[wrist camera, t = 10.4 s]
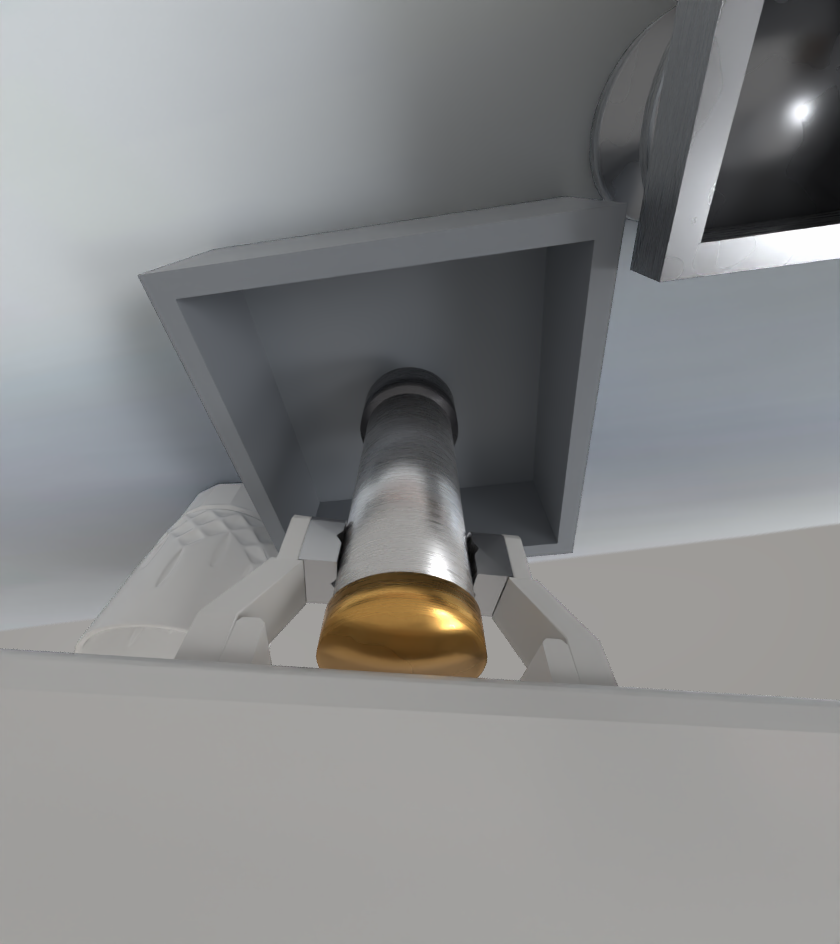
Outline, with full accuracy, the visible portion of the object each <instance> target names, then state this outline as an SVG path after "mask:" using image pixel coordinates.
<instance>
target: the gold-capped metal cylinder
mask: <svg viewBox="0 0 840 944" xmlns="http://www.w3.org/2000/svg"><path fill="white" fill-rule="evenodd" d="M360 433H361V438H362V441H363V449H362V454H361V459H360V464H359V469H358V474H357V479H356V484H355V489H354V494H353V499H352V504H351V508H350V513H349V518H348V523H347V529H346V534H345V539H344V544H343V548H342V553H341V559H340V564H339V569H338V574H337V578H336V582H335V587H334V592H333V597H332V598H331V599H330V601H329V603H328V605H327V607H326V611H325V615H324V619H323V624H322V629H321V634H320V639H319V643H318V648H317V654H316V659H317V663H318V666H319V668H324V669H340V670H357V671H373V672H389V673H406V674H422V675H438V676H455V677H471V678H478V677H479V675H480V674H481V673H482V672H483V670H484V668H485V666H486V663H487V652H486V645H485V638H484V631H483V624H482V617H481V611H480V608H479V606H478V604H477V602H476V601H475V597H474V590H473V582H472V575H471V568H470V561H469V553H468V546H467V539H466V531H465V524H464V517H463V509H462V502H461V495H460V488H459V480H458V473H457V466H456V458H455V451H454V446H455V444H456V441H457V438H458V421H457V415H456V409H455V403H454V398H453V395H452V393H451V391H450V389H449V387H448V386H447V384H446V383H445V382H444V381H443V380H442V379H441V378H440V377H438V376H437V375H435V374H434V373H432V372H430V371H428V370H424V369H421V368H416V367H403V368H398V369H394V370H391V371H389V372H387V373H385V374H384V375H382V376H381V377H380V378H378V379H377V380H376V381H375V383H374V384H373V385H372V386H371V388H370V390H369V392H368V394H367V397H366V401H365V406H364V410H363V414H362V418H361V424H360Z"/></svg>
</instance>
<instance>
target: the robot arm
mask: <svg viewBox="0 0 840 944" xmlns="http://www.w3.org/2000/svg"><path fill="white" fill-rule="evenodd" d="M346 529H347V521H346V520H339V519H330V518H322V517H313V516H312V517H310V516H302V515H294V516H293V517H292V518H291V521H290V524H289V526H288V529H287V532H286V535H285V537H284V540H283V543H282V545H281V548H280V551H279V553H278V556H277V558H274V557H271V558H270V559H269V560H267V561H266V562H265V563H263V564H262V565H261V566H259V567H258V568H256V569H255V570H254V571H252V572H251V573H250V574H248V575H247V576H246V577H244V578H243V579H242V580H240V581H239V582H238V583H236V584H235V585H234V586H232V587H231V588H229V589H228V590H227V591H225V592H224V593H223V594H221V595H220V596H219V597H217V598H216V599H215V600H213V601H212V602H211V603H209V604H208V605H207V606H205V607H204V608H202V609H201V610H200V611H198V613H197V615H196V617H195V619H194V621H193V623H192V625H191V627H190V629H189V630H188V632H187V634H186V636H185V638H184V640H183V642H182V644H181V646H180V648H179V650H178V652H177V654H176V656H175V658H174V659H162V658H146V657H130V656H114V655H98V654H82V653H64V652H50V651H33V650H17V649H16V650H15V649H0V944H840V700H830V699H814V698H798V697H797V698H796V697H781V696H765V695H747V694H731V693H716V692H715V693H714V692H698V691H683V690H667V689H651V688H650V689H649V688H634V687H618V685H617V683H616V680H615V677H614V675H613V672H612V669H611V667H610V665H609V662H608V659H607V657H606V654H605V652H604V649H603V647H602V645H601V642H600V640H598V638H597V637H596V636H594V635H593V634H592V633H591V632H590V631H589V630H588V629H587V628H586V627H585V626H584V625H583V624H582V623H581V622H580V621H579V620H578V619H577V618H576V617H575V616H574V615H573V614H572V613H571V612H570V611H569V610H568V609H567V608H566V607H565V606H564V605H563V604H562V603H561V602H560V601H559V600H558V599H557V598H556V597H555V596H554V595H552V594H551V592H549V591H548V590H547V589H546V588H545V587H544V586H543V585H542V584H541V583H540V582H539V581H538V580H534V579H533V578H532V575H531V572H530V568H529V565H528V562H527V558H526V555H525V552H524V548H523V545H522V541H521V538H520V537H519V536H515V535H503V534H502V535H501V534H491V533H479V532H469V533H468V535H467V538H466V539H467V546H468V553H469V561H470V568H471V575H472V582H473V590H474V597H475V601H476V602H477V604H478V606H479V608H480V611H481V616H491V617H492V619H493V620H494V622H495V623H496V625H497V626H498V628H499V629H500V630H501V632H502V633H503V634H504V636H505V638H506V639H507V640H508V642H509V643H510V645H511V646H512V647H513V649H514V650H515V652H516V653H517V655H518V656H519V657H520V659H521V660H522V662H523V663H524V665H525V666H526V667H527V669H526V671H525V672H524V674H523V676H522V677H521V679H520V680H504V679H487V678H471V677H455V676H438V675H422V674H406V673H389V672H373V671H357V670H340V669H324V668H307V667H292V666H276V665H275V666H274V665H272V664H271V657H270V651H269V644H270V643H271V642H272V640H273V639H274V638H275V637H276V636H277V635H278V634H279V633H280V632H281V631H282V630H283V629H284V627H285V626H286V625H287V624H288V623H289V622H290V621H291V620H292V619H293V618H294V617H295V616H296V615H297V614H298V612H299V611H300V610H301V609H302V608H303V607H304V606H305V605H306V603H323V604H328V603H329V601H330V599H331V598H332V597H333V592H334V587H335V582H336V578H337V574H338V569H339V564H340V559H341V553H342V548H343V544H344V539H345V534H346Z"/></svg>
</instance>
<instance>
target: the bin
mask: <svg viewBox="0 0 840 944" xmlns="http://www.w3.org/2000/svg"><path fill="white" fill-rule="evenodd" d="M627 205H628V203H623V202H613V201H604V200H595V199H586V198H577V197H568V196H566V197H559V198H553V199H546V200H539V201H533V202H526V203H519V204H513V205H506V206H499V207H493V208H486V209H479V210H473V211H466V212H459V213H453V214H446V215H439V216H433V217H426V218H419V219H412V220H406V221H399V222H392V223H386V224H379V225H372V226H366V227H359V228H352V229H346V230H339V231H332V232H326V233H319V234H312V235H306V236H299V237H292V238H286V239H279V240H272V241H266V242H259V243H252V244H246V245H239V246H232V247H226V248H219V249H213V250H210V251H207V252H204V253H201V254H198V255H195V256H192V257H190V258H187V259H184V260H181V261H178V262H175V263H172V264H169V265H166V266H163V267H160V268H157V269H154V270H151V271H148V272H145V273H143V274H140V275H138V277H139V279H140V281H141V283H142V285H143V287H144V289H145V291H146V293H147V295H148V297H149V299H150V301H151V303H152V305H153V307H154V309H155V311H156V313H157V315H158V317H159V319H160V321H161V323H162V325H163V327H164V328H165V330H166V332H167V334H168V336H169V338H170V340H171V342H172V344H173V346H174V348H175V350H176V352H177V354H178V356H179V358H180V360H181V362H182V364H183V366H184V368H185V370H186V372H187V374H188V376H189V378H190V380H191V382H192V384H193V386H194V388H195V390H196V392H197V394H198V396H199V398H200V400H201V402H202V404H203V406H204V408H205V410H206V412H207V414H208V416H209V417H210V419H211V421H212V423H213V425H214V427H215V429H216V431H217V433H218V435H219V437H220V439H221V441H222V443H223V445H224V447H225V449H226V451H227V453H228V455H229V457H230V459H231V461H232V463H233V465H234V467H235V469H236V471H237V473H238V475H239V477H240V479H241V481H242V483H243V485H244V487H245V489H246V491H247V493H248V495H249V497H250V499H251V501H252V503H253V505H254V506H255V508H256V510H257V512H258V514H259V516H260V518H261V520H262V522H263V524H264V526H265V528H266V530H267V532H268V534H269V536H270V538H271V540H272V542H273V544H274V546H275V548H276V550H277V552H278V553H279V551H280V548H281V545H282V543H283V540H284V537H285V535H286V532H287V529H288V526H289V524H290V521H291V518H292V517H293V516H294V515H302V516H310V517H312V516H313V517H322V518H330V519H339V520H346V521H347V523H348V518H349V513H350V508H351V504H352V499H353V494H354V489H355V484H356V479H357V474H358V469H359V464H360V459H361V454H362V449H363V441H362V438H361V433H360V424H361V418H362V414H363V410H364V406H365V401H366V397H367V394H368V392H369V390H370V388H371V386H372V385H373V384H374V383H375V381H376V380H377V379H378V378H380V377H381V376H382V375H384V374H385V373H387V372H389V371H391V370H394V369H398V368H403V367H416V368H421V369H424V370H428V371H430V372H432V373H434V374H435V375H437V376H438V377H440V378H441V379H442V380H443V381H444V382H445V383H446V384H447V386H448V387H449V389H450V391H451V393H452V395H453V398H454V403H455V409H456V415H457V421H458V438H457V441H456V444H455V446H454V451H455V458H456V466H457V473H458V480H459V488H460V495H461V502H462V509H463V517H464V524H465V531H466V538H467V535H468V533H469V532H479V533H491V534H501V535H502V534H503V535H515V536H519V537H520V538H521V541H522V545H523V548H524V552H525V555H526V557H532V556H543V555H555V554H566V553H573V546H574V540H575V534H576V527H577V521H578V515H579V508H580V502H581V496H582V489H583V483H584V477H585V470H586V464H587V458H588V451H589V445H590V439H591V433H592V426H593V420H594V414H595V407H596V401H597V395H598V388H599V382H600V376H601V369H602V363H603V357H604V350H605V344H606V338H607V331H608V325H609V319H610V313H611V306H612V300H613V294H614V287H615V281H616V275H617V268H618V262H619V256H620V249H621V243H622V237H623V230H624V224H625V218H626V211H627Z"/></svg>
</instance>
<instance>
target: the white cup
mask: <svg viewBox="0 0 840 944" xmlns="http://www.w3.org/2000/svg"><path fill="white" fill-rule="evenodd" d="M277 556H278V552H277V550H276V548H275V546H274V544H273V542H272V540H271V538H270V536H269V534H268V532H267V530H266V528H265V526H264V524H263V522H262V520H261V518H260V516H259V514H258V512H257V510H256V508H255V506H254V505H253V503H252V501H251V499H250V497H249V495H248V493H247V491H246V489H245V487H244V485H243V483H230V484H217V485H215V486H213V487H211V488H209V489H207V490H205V491H203V492H200V493H199V494H198V495H197V497H196V498H195V499H194V500H193V502H192V503H191V504H190V506H189V507H188V508H187V510H186V511H185V512H184V514H183V515H182V516H181V517H180V519H179V520H178V521H177V522H176V523H175V524H174V525H173V526H171V527H170V528H169V529H168V530H167V532H166V533H165V534H164V535H163V536H162V537H161V539H160V540H159V541H158V542H157V544H156V545H155V546H154V547H153V548H152V550H151V551H150V552H149V553H148V554H147V555H146V557H145V558H144V559H143V560H142V561H141V562H140V564H139V565H138V566H137V567H136V569H135V570H134V571H133V572H132V574H131V575H130V576H129V578H128V579H127V580H126V581H125V583H124V584H123V585H122V586H121V588H120V589H119V590H118V591H117V593H116V594H115V595H114V596H113V598H112V599H111V600H110V602H109V603H108V604H107V605H106V607H105V608H104V609H103V610H102V612H101V613H100V614H99V615H98V617H97V618H96V619H95V620H94V622H93V623H92V624H91V626H90V627H89V628H88V629H87V631H86V632H85V633H84V634H83V635H82V637H81V638H80V639H79V640H78V642H77V644H76V646H75V650H74V653H82V654H98V655H114V656H130V657H146V658H162V659H174V658H175V656H176V654H177V652H178V650H179V648H180V646H181V644H182V642H183V640H184V638H185V636H186V634H187V632H188V630H189V629H190V627H191V625H192V623H193V621H194V619H195V617H196V615H197V613H198V611H200V610H201V609H202V608H204V607H205V606H207V605H208V604H209V603H211V602H212V601H213V600H215V599H216V598H217V597H219V596H220V595H221V594H223V593H224V592H225V591H227V590H228V589H229V588H231V587H232V586H234V585H235V584H236V583H238V582H239V581H240V580H242V579H243V578H244V577H246V576H247V575H248V574H250V573H251V572H252V571H254V570H255V569H256V568H258V567H259V566H261V565H262V564H263V563H265V562H266V561H267V560H269V559H270V558H271V557H274V558H277ZM270 645H271V643H270V644H269V649H270Z"/></svg>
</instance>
